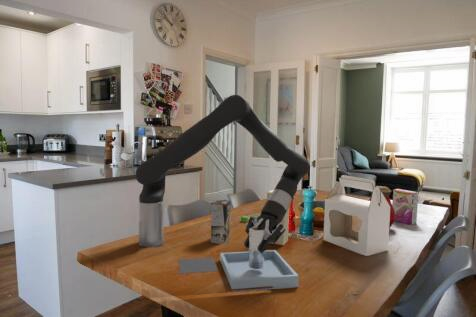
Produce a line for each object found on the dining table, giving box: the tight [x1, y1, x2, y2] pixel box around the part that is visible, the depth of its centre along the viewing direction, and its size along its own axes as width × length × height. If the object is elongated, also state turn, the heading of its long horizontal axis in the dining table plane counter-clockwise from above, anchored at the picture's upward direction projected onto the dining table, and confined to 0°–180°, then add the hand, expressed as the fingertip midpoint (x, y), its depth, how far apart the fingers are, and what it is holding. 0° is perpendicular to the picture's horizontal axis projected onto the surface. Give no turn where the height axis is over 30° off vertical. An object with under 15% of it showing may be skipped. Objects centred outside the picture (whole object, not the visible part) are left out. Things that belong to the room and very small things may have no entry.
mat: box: [178, 256, 219, 275], centre depth 114 cm, size 12×12×1 cm
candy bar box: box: [391, 188, 419, 226], centre depth 177 cm, size 11×5×16 cm, turn 34°
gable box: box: [323, 174, 390, 257], centre depth 139 cm, size 22×13×28 cm, turn 32°
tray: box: [219, 249, 300, 293], centre depth 110 cm, size 20×22×4 cm
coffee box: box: [210, 199, 232, 245], centre depth 142 cm, size 9×6×16 cm
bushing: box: [248, 227, 266, 269], centre depth 110 cm, size 5×5×12 cm
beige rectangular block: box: [266, 189, 290, 246], centre depth 142 cm, size 8×7×21 cm
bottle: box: [368, 185, 397, 230], centre depth 165 cm, size 16×14×20 cm
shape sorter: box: [240, 213, 300, 227], centre depth 176 cm, size 34×19×5 cm, turn 125°
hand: (253, 249), depth 108 cm, fingers closed on bushing, 5 cm apart
